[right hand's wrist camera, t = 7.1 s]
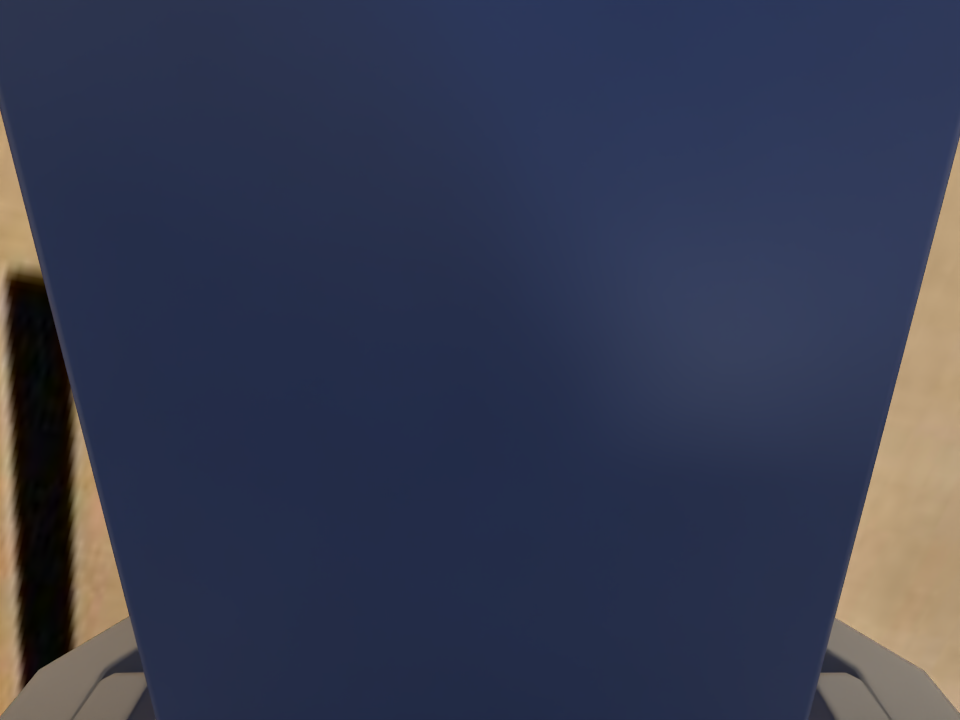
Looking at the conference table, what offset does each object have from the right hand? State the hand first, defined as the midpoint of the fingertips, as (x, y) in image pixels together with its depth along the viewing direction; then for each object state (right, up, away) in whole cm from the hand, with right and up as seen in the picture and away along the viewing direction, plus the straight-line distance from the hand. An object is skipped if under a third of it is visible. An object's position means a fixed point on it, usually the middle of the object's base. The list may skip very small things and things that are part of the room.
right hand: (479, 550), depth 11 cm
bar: (0, +9, 0) cm, 9 cm away
